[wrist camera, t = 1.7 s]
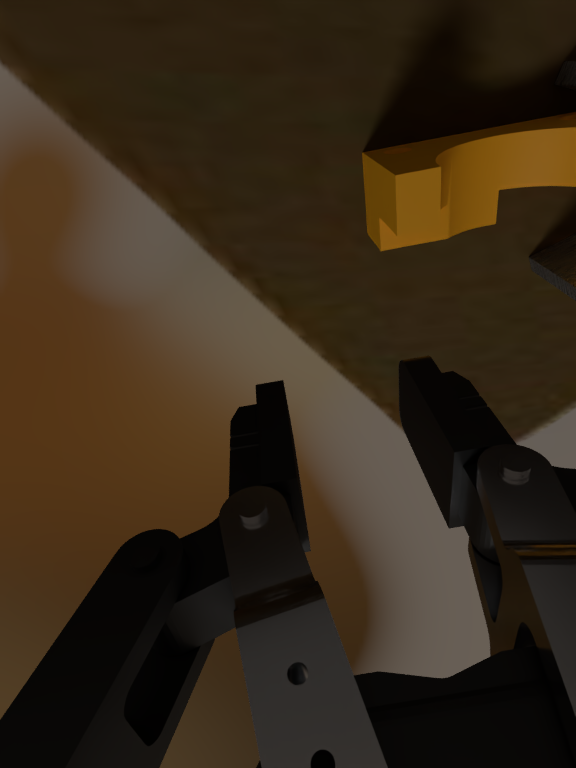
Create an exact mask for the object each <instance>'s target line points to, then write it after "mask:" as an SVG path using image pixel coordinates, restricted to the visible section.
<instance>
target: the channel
mask: <svg viewBox="0 0 576 768" xmlns="http://www.w3.org/2000/svg"><path fill="white" fill-rule="evenodd" d="M554 85H558V86H562V87H565V88H569V89H572V90H576V61H564V64H563V66H562V68H561V70H560V73H559V75H558V77H557V80H556V82H555V84H554ZM529 260H530V264H531V268H532V271H533V272H535V273H536V274H538V275H539V276H541V277H542V278H543V279H545V280H546V281H548V282H549V283H551V284H552V285H554V286H555V287H556V288H558V289H559V290H561V291H562V292H564V293H565V294H567V295H568V296H569V297H571V298H572V299H574V300H575V301H576V234H574V235H572V236H570V237H568V238H566V239H564V240H562V241H560V242H558V243H556V244H554V245H552V246H550V247H548V248H546V249H544V250H542V251H540V252H538V253H536V254H534V255H532V256H530V257H529Z"/></svg>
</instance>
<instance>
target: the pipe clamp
mask: <svg viewBox="0 0 576 768" xmlns="http://www.w3.org/2000/svg"><path fill="white" fill-rule="evenodd" d="M362 156H363V171H364V187H365V202H366V217H367V233H368V235H369V236H370V238H371V239H372V240H373V241H374V243H375V244H376V245H377V247H378V248H379V249H380V250H381V251H384V250H389V249H394V248H400V247H405V246H410V245H416V244H421V243H426V242H432V241H437V240H442V239H448V238H449V237H451V236H453V235H455V234H458V233H461V232H463V231H466V230H470V229H473V228H477V227H482V226H487V225H492V224H496V215H497V204H498V192H499V190H502V189H509V188H518V187H531V186H573V187H576V112H571V113H566V114H561V115H555V116H550V117H545V118H540V119H535V120H529V121H524V122H519V123H514V124H508V125H503V126H498V127H493V128H487V129H482V130H477V131H472V132H467V133H461V134H456V135H451V136H446V137H440V138H435V139H430V140H425V141H420V142H414V143H409V144H404V145H399V146H393V147H388V148H383V149H378V150H372V151H367V152H362Z"/></svg>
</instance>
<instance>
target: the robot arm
mask: <svg viewBox="0 0 576 768" xmlns="http://www.w3.org/2000/svg"><path fill="white" fill-rule="evenodd" d="M256 401H257V404H255V405H249V406H243V407H239V408H238V409H237V411H236V413H235V415H234V416H233V418H232V420H231V426H230V436H231V438H230V476H229V478H230V479H229V498H228V499H227V500H226V502H225V503H224V504H223V506H222V508H221V510H220V513H219V516H218V518H217V519H215V520H214V521H213V522H212V523H210V524H209V525H207V526H206V527H204V528H202V529H200V530H198V531H196V532H194V533H191V534H189V535H187V536H185V537H183V538H180V539H179V538H178V536H177V535H175V534H174V533H172V532H171V531H168V530H162V529H154V530H148V531H145V532H142V533H140V534H138V535H136V536H134V537H133V538H131V539H129V540H128V541H127V542H125V543H124V544H123V545H122V546H121V547H120V549H119V550H118V551H117V553H116V554H115V555H114V557H113V558H112V559H111V561H110V562H109V564H108V565H107V567H106V568H105V570H104V571H103V573H102V574H101V575H100V577H99V578H98V580H97V581H96V583H95V584H94V585H93V587H92V588H91V590H90V591H89V593H88V594H87V596H86V597H85V599H84V600H83V601H82V603H81V604H80V606H79V607H78V609H77V610H76V611H75V613H74V614H73V616H72V617H71V619H70V620H69V622H68V623H67V624H66V626H65V627H64V629H63V630H62V632H61V633H60V635H59V636H58V637H57V639H56V640H55V642H54V643H53V645H52V646H51V647H50V649H49V650H48V652H47V653H46V655H45V656H44V658H43V659H42V661H41V662H40V663H39V665H38V666H37V668H36V669H35V671H34V672H33V673H32V675H31V676H30V678H29V679H28V681H27V682H26V684H25V685H24V686H23V688H22V689H21V691H20V692H19V694H18V695H17V697H16V698H15V699H14V701H13V702H12V704H11V705H10V707H9V708H8V709H7V711H6V713H5V714H4V715H3V717H2V718H1V720H0V768H159V767H160V765H161V762H162V760H163V758H164V755H165V753H166V751H167V749H168V746H169V744H170V742H171V739H172V737H173V735H174V733H175V730H176V728H177V726H178V723H179V721H180V719H181V716H182V714H183V712H184V709H185V707H186V705H187V703H188V700H189V698H190V696H191V693H192V691H193V689H194V687H195V684H196V682H197V680H198V677H199V675H200V673H201V670H202V668H203V666H204V664H205V661H206V659H207V656H208V654H209V652H210V650H211V647H212V645H213V643H214V640H215V638H216V637H218V636H220V635H222V634H223V633H225V632H227V631H229V630H231V629H233V628H235V627H236V632H237V637H238V643H239V648H240V653H241V659H242V664H243V670H244V674H245V681H246V686H247V691H248V696H249V702H250V707H251V712H252V718H253V724H254V729H255V734H256V739H257V745H258V751H259V756H260V761H259V763H258V765H257V767H256V768H576V469H569V468H559V467H554V466H551V464H550V463H549V461H548V460H547V459H546V458H545V457H544V456H542V455H541V454H540V453H538V452H536V451H534V450H532V449H530V448H527V447H524V446H520V445H517V444H516V443H515V442H514V440H513V439H512V438H511V436H510V435H509V434H508V432H507V431H506V430H505V428H504V427H503V425H502V424H501V423H500V421H499V420H498V419H497V417H496V416H495V415H494V413H493V412H492V411H491V409H490V408H489V407H487V404H486V403H485V401H484V400H483V398H482V397H481V396H479V393H478V392H477V390H476V389H475V388H474V386H473V385H472V384H471V382H470V381H469V380H467V379H465V378H464V377H462V376H460V375H459V374H457V373H455V372H454V371H451V372H445V373H441V371H440V370H439V368H438V367H437V365H436V364H435V362H434V361H433V359H432V358H431V357H430V356H424V357H418V358H413V359H407V360H401V361H400V362H399V411H400V418H401V423H402V426H403V429H404V432H405V434H406V436H407V438H408V441H409V443H410V445H411V447H412V449H413V451H414V453H415V456H416V458H417V460H418V462H419V464H420V467H421V469H422V471H423V473H424V475H425V477H426V480H427V482H428V484H429V486H430V488H431V491H432V493H433V495H434V497H435V499H436V501H437V504H438V506H439V508H440V510H441V512H442V515H443V517H444V519H445V521H446V523H447V526H448V527H449V528H454V527H460V526H464V527H465V529H466V531H467V533H468V535H469V543H468V552H469V557H470V561H471V565H472V569H473V573H474V577H475V581H476V584H477V589H478V592H479V596H480V600H481V604H482V608H483V612H484V616H485V620H486V624H487V628H488V633H489V639H490V655H491V657H489V658H487V659H485V660H483V661H481V662H479V663H477V664H475V665H473V666H471V667H469V668H467V669H465V670H463V671H461V672H459V673H457V674H455V675H453V676H451V677H448V678H431V677H422V676H414V675H405V674H396V673H387V672H373V673H366V674H360V675H353V672H352V670H351V667H350V664H349V662H348V659H347V657H346V654H345V651H344V648H343V646H342V643H341V640H340V637H339V635H338V632H337V629H336V627H335V624H334V621H333V618H332V616H331V613H330V611H329V608H328V605H327V602H326V600H325V597H324V594H323V592H322V590H321V587H320V585H319V583H318V581H315V579H314V577H313V574H312V572H311V569H310V566H309V564H308V561H307V558H306V555H305V552H308V551H311V550H310V544H309V536H308V530H307V523H306V517H305V510H304V504H303V497H302V490H301V484H300V477H299V470H298V464H297V458H296V451H295V444H294V438H293V433H292V426H291V421H290V415H289V410H288V405H287V399H286V393H285V388H284V382H283V380H282V381H276V382H270V383H264V384H258V385H256Z"/></svg>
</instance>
